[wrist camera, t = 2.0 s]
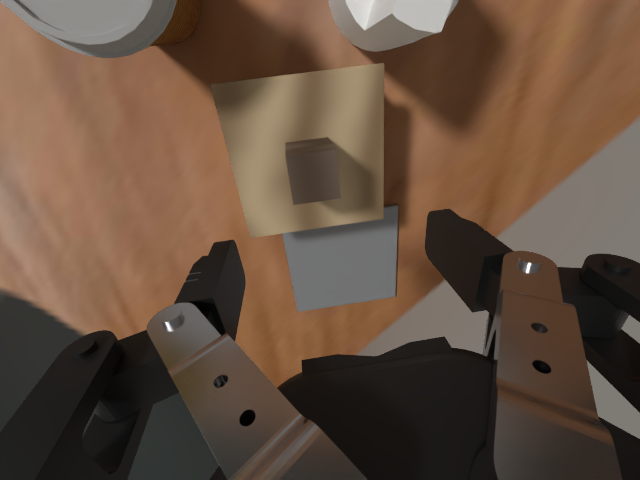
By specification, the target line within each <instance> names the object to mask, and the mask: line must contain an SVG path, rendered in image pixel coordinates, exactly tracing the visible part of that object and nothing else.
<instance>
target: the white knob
mask: <svg viewBox="0 0 640 480" xmlns="http://www.w3.org/2000/svg"><path fill="white" fill-rule="evenodd" d="M458 1H459V0H329V6H330V10H331V13H332V16H333V19H334V22H335V23H336V25H337V27H338V28H339V30H340V32H341V34H342V35H343V36H344V37H345V38H346V39H347V40H348V41H349V42H350V43H351V44H353V45H355V46H357V47H359V48H360V49H362V50H367V51H372V52H379V51H385V50H390V49H393V48H397V47H400V46H403V45H407V44H410V43H413V42H415V41H418V40H420V39H422V38H424V37H427V36H430V35H433V34H436V33H440V32H441V31H442V29H443V26H444V23H445V21H446V19H447V17H448V16H449V15H450V13H451V12H452V11H453V9H454V8H455V7H456V5H457V3H458Z"/></svg>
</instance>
